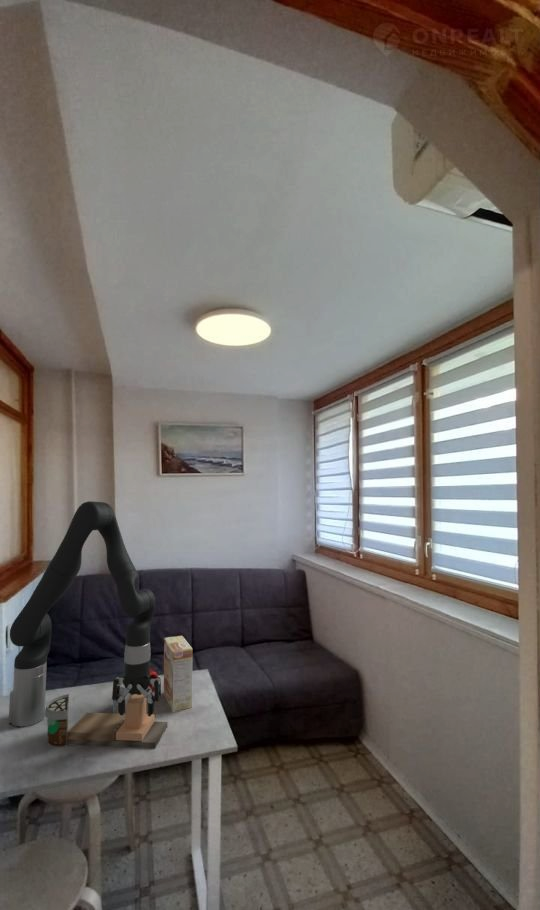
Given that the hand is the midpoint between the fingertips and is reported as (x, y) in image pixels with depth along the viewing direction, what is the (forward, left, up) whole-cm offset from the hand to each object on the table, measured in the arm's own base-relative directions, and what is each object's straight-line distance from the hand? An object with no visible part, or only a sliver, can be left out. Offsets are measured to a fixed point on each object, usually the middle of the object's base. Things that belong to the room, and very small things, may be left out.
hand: (136, 714), depth 128 cm
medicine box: (-10, +16, -6) cm, 20 cm away
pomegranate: (-8, +29, -6) cm, 31 cm away
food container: (-23, -3, -6) cm, 24 cm away
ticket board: (-5, 0, -6) cm, 8 cm away
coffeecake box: (+6, +23, -6) cm, 24 cm away
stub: (0, 0, -4) cm, 4 cm away
